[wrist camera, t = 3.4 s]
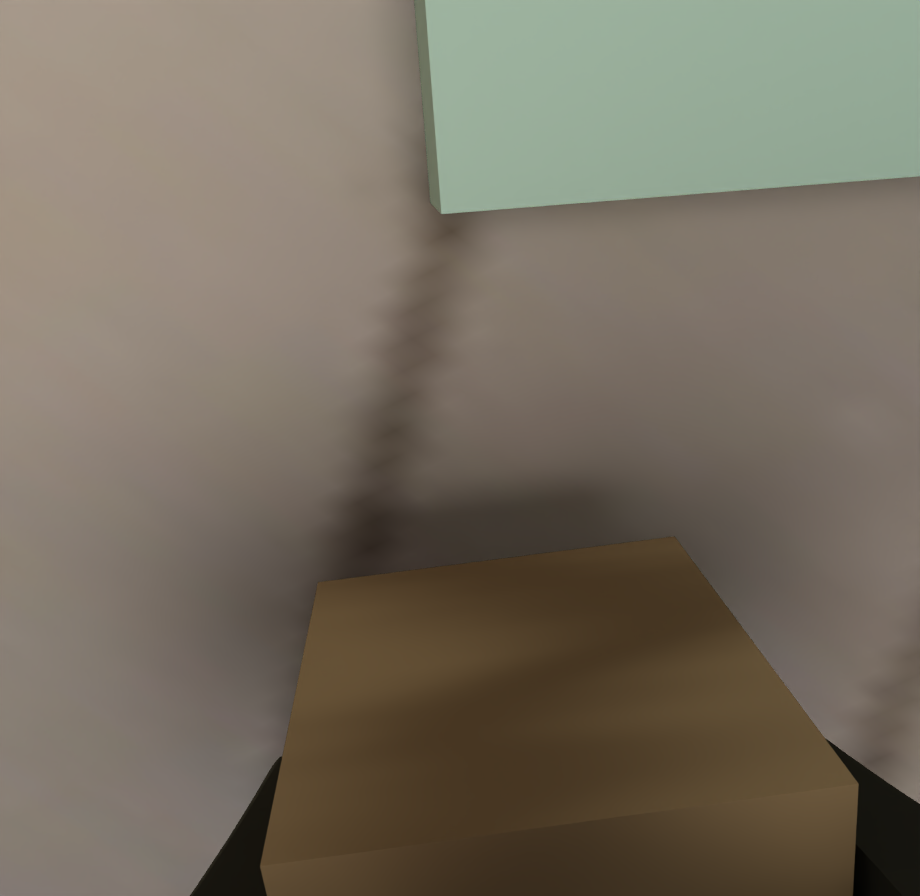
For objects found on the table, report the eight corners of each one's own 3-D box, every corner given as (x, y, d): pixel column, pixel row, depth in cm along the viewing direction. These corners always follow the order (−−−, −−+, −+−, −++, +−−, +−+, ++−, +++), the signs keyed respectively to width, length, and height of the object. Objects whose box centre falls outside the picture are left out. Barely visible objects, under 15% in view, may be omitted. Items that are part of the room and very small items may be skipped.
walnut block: (674, 536, 12) (859, 784, 7) (682, 822, 13) (838, 1181, 9) (318, 581, 12) (259, 866, 7) (369, 866, 13) (351, 1255, 8)
